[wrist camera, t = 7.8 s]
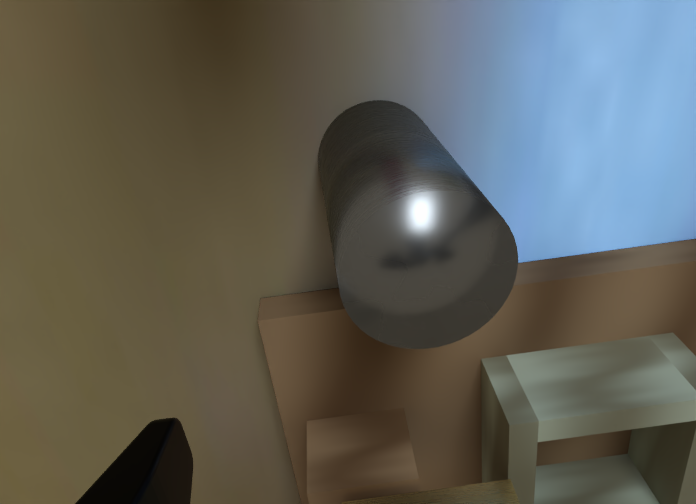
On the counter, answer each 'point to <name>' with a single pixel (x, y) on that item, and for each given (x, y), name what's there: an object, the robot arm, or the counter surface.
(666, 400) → the dock
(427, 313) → the cylinder
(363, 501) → the lock bolt
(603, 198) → the counter surface
